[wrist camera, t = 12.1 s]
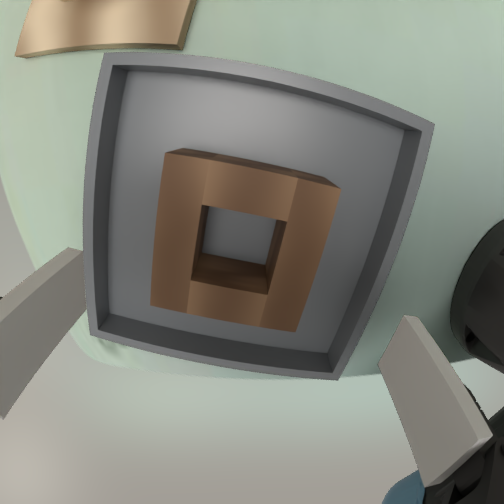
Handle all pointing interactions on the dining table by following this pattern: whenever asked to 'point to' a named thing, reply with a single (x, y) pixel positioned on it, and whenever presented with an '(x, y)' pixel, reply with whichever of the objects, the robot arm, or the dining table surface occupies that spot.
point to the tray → (238, 223)
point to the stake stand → (103, 25)
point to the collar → (232, 270)
